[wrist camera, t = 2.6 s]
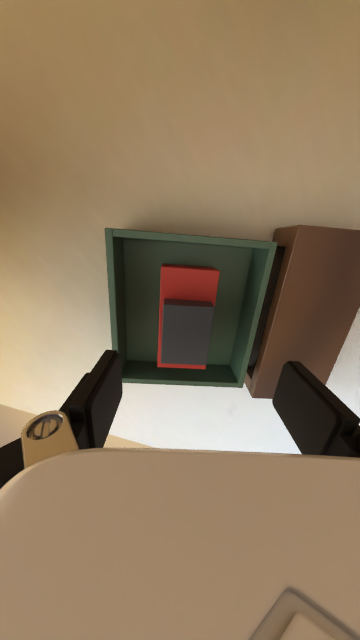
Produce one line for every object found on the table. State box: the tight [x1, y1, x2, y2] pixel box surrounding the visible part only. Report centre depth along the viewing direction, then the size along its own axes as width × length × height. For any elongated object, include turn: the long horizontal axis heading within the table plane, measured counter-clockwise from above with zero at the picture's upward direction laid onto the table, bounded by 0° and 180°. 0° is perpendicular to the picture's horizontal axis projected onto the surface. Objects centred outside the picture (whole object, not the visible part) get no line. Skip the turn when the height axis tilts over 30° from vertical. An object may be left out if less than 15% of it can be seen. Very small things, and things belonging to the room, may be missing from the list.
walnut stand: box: [244, 225, 360, 399], centre depth 21 cm, size 8×18×4 cm, turn 176°
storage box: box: [105, 228, 278, 388], centre depth 20 cm, size 14×15×4 cm
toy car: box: [157, 263, 220, 369], centre depth 19 cm, size 5×10×6 cm, turn 176°
